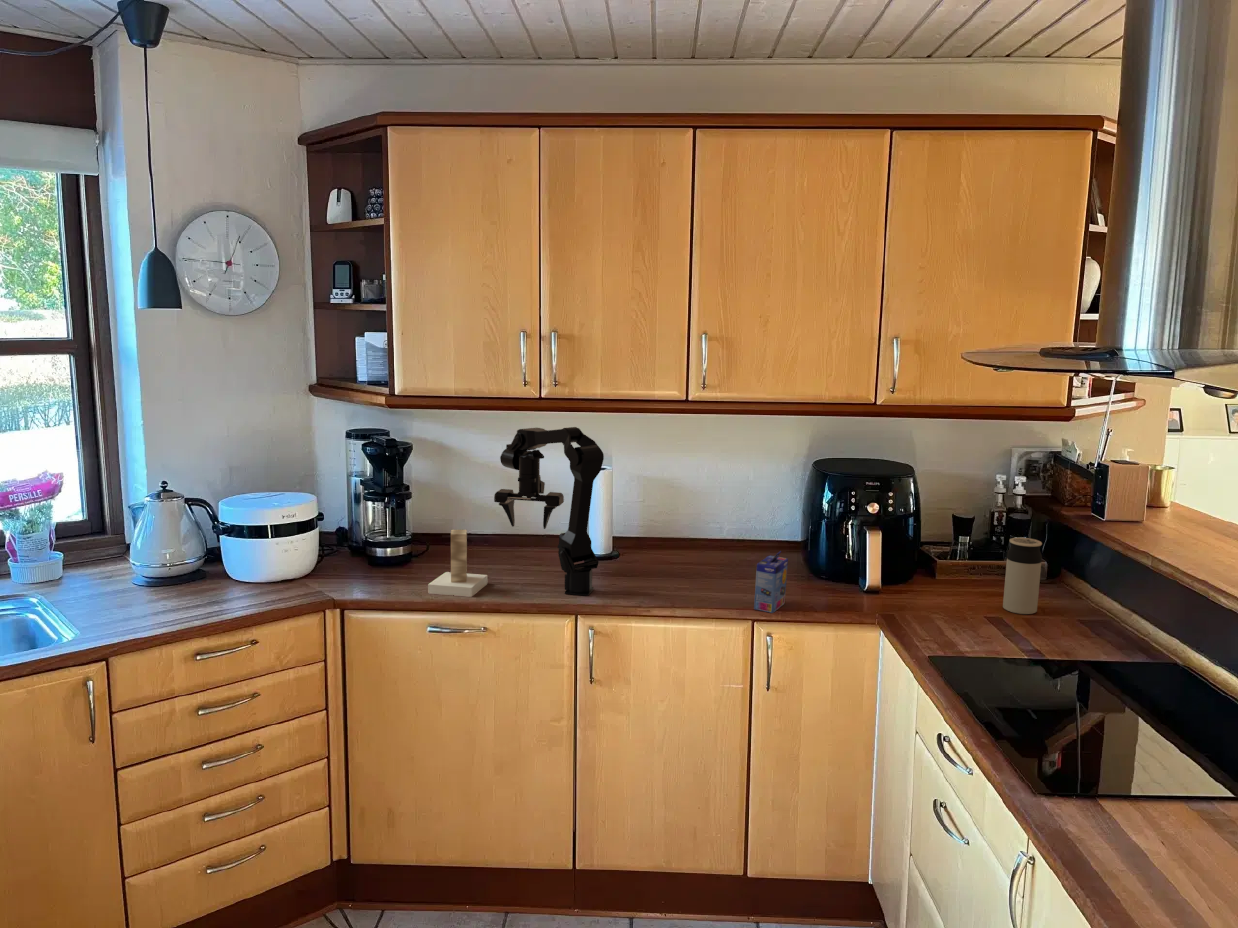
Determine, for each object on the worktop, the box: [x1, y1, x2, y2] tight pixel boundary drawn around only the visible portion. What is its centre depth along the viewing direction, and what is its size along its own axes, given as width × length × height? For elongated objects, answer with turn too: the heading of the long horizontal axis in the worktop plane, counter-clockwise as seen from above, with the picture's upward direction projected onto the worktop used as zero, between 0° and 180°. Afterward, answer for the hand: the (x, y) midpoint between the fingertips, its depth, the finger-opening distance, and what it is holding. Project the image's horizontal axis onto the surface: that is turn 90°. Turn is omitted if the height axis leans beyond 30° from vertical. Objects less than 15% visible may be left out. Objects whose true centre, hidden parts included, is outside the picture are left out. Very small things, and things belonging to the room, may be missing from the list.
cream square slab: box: [427, 571, 489, 598], centre depth 245 cm, size 12×12×3 cm
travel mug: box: [1002, 537, 1043, 615], centre depth 231 cm, size 8×8×18 cm
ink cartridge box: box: [753, 550, 789, 614], centre depth 232 cm, size 10×6×14 cm, turn 152°
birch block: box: [450, 529, 468, 582], centre depth 243 cm, size 4×5×13 cm
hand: (528, 527), depth 258 cm, fingers open, 9 cm apart
